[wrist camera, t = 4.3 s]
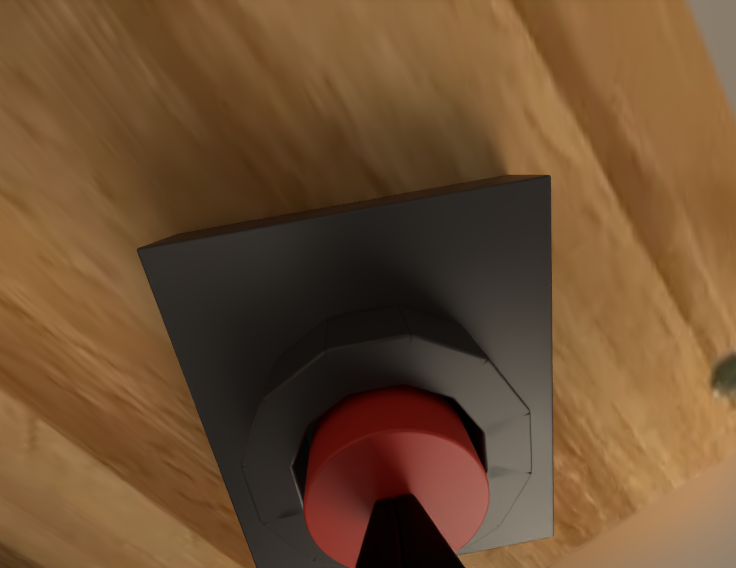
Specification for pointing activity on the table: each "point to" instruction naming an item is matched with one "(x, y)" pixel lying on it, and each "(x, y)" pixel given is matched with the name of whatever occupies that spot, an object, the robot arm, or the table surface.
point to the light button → (391, 468)
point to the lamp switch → (369, 342)
